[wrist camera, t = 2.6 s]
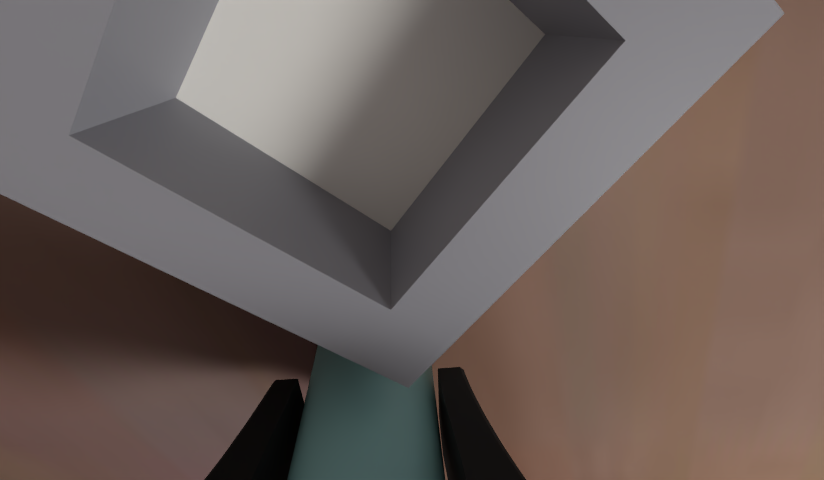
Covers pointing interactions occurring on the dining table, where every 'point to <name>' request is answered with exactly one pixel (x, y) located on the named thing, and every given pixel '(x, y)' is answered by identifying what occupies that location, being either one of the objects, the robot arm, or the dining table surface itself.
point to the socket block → (347, 142)
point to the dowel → (366, 426)
